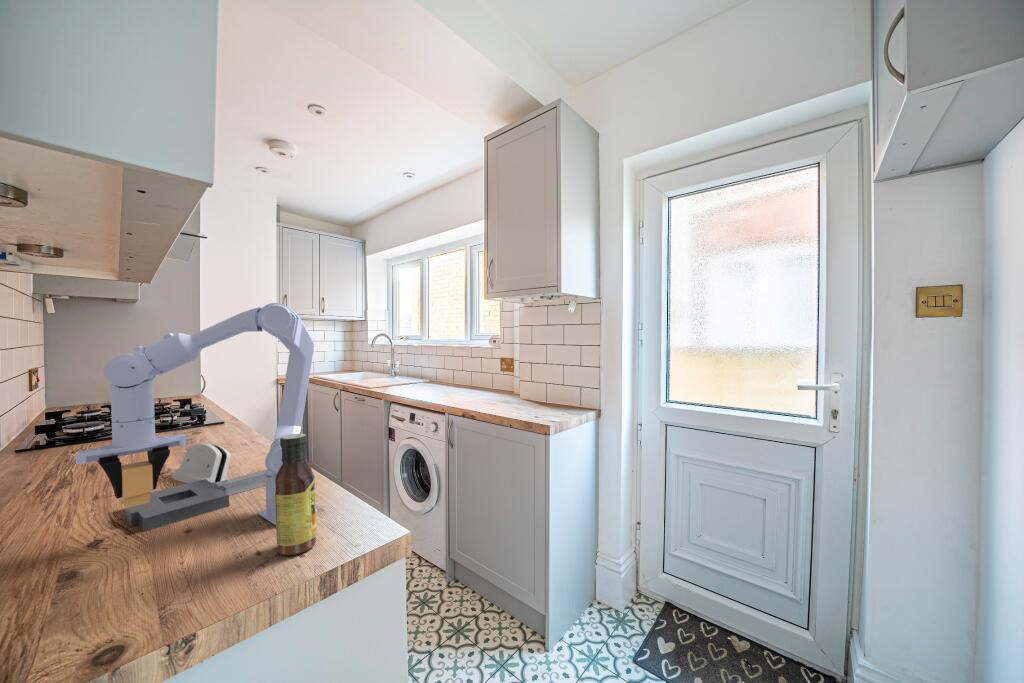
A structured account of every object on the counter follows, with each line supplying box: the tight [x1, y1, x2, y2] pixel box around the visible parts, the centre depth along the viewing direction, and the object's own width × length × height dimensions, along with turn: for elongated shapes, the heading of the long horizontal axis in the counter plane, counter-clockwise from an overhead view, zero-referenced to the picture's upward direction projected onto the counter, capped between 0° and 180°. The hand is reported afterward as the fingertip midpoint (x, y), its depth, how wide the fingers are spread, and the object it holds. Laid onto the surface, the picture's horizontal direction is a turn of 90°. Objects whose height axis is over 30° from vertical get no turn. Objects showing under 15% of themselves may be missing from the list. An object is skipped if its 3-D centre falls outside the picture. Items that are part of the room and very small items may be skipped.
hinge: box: [170, 443, 232, 484], centre depth 105 cm, size 17×5×10 cm, turn 62°
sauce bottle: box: [275, 433, 318, 556], centre depth 70 cm, size 7×6×20 cm
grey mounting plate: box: [124, 469, 267, 532], centre depth 91 cm, size 16×27×3 cm, turn 143°
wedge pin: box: [121, 460, 154, 508], centre depth 73 cm, size 4×4×7 cm
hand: (136, 492), depth 73 cm, fingers closed on wedge pin, 4 cm apart
